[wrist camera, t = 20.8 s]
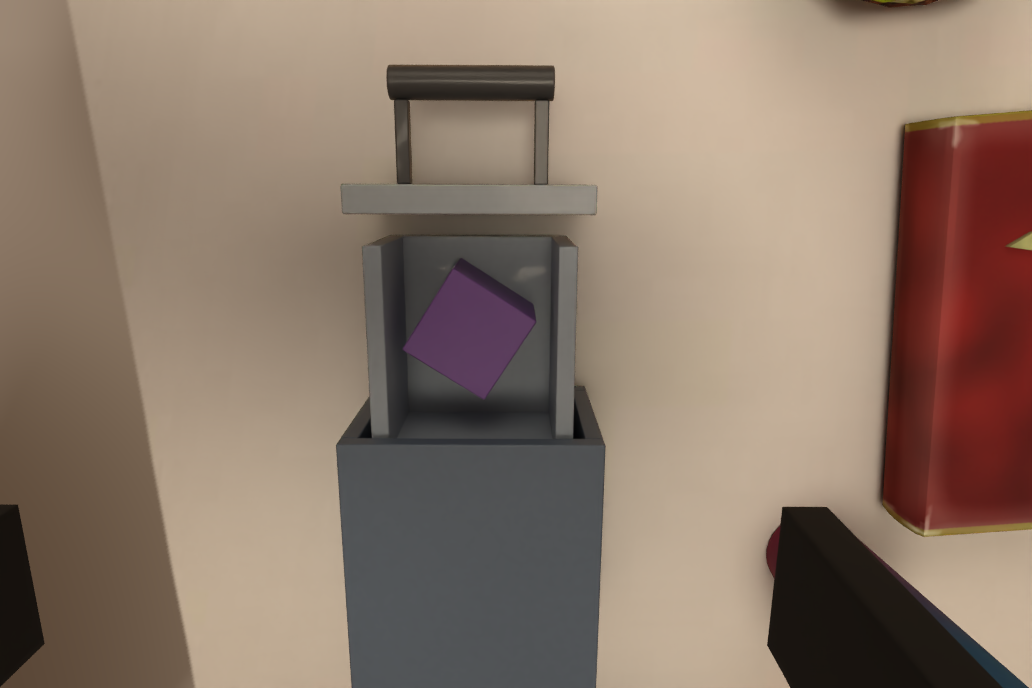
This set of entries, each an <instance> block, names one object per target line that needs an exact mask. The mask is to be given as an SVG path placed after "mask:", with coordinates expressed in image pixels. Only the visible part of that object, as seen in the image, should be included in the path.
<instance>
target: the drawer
mask: <svg viewBox="0 0 1032 688" xmlns="http://www.w3.org/2000/svg"><path fill="white" fill-rule="evenodd" d="M387 89H388V95H389V98H390V99H391V100H394V114H395V141H396V167H397V183H398V184H341V202H342V213H343V214H459V215H596V213H597V185H547V184H548V145H549V101H553V100H554V90H555V68H554V66H533V65H388V68H387ZM408 100H458V101H535V124H534V185H504V184H412V156H411V125H410V102H409V101H408ZM362 256H363V275H364V295H365V315H366V334H367V354H368V374H369V393H370V413H371V433H372V438H419V439H573V422H574V384H575V347H576V309H577V272H578V247H577V246H576V245H575V244H574V243H573V242H572V241H571V240H570V239H569V238H568V237H567V236H518V235H389V236H387V237H385V238H382V239H379V240H377V241H374V242H372V243H369V244H367V245H364V246H362ZM460 258H462V259H464V260H466V261H467V262H469V263H470V264H472V265H473V266H475V267H477V268H478V269H480V270H481V271H483V272H484V273H486V274H487V275H489V276H491V277H492V278H494V279H495V280H497V281H498V282H500V283H501V284H503V285H505V286H506V287H508V288H509V289H511V290H512V291H514V292H515V293H517V294H519V295H520V296H522V297H523V298H525V299H526V300H528V301H529V302H531V303H533V305H534V310H535V316H536V324H535V325H534V327H533V328H532V330H531V331H530V333H529V334H528V336H527V337H526V339H525V340H524V342H523V343H522V345H521V346H520V348H519V349H518V351H517V352H516V354H515V355H514V357H513V358H512V360H511V361H510V363H509V364H508V366H507V367H506V369H505V370H504V372H503V373H502V375H501V376H500V378H499V379H498V381H497V382H496V384H495V385H494V387H493V388H492V390H491V391H490V393H489V394H488V396H487V397H486V399H481V398H480V397H478V396H477V395H475V394H473V393H472V392H470V391H468V390H467V389H465V388H463V387H462V386H460V385H459V384H457V383H455V382H454V381H452V380H450V379H449V378H447V377H445V376H444V375H442V374H441V373H439V372H437V371H436V370H434V369H432V368H431V367H429V366H427V365H426V364H424V363H423V362H421V361H419V360H418V359H416V358H414V357H413V356H411V355H410V354H408V353H406V352H405V351H403V350H402V349H403V347H404V345H405V344H406V342H407V340H408V339H409V337H410V336H411V334H412V332H413V331H414V329H415V328H416V326H417V324H418V323H419V321H420V320H421V318H422V316H423V315H424V313H425V312H426V310H427V308H428V307H429V305H430V304H431V302H432V300H433V299H434V297H435V296H436V294H437V292H438V291H439V289H440V288H441V286H442V284H443V283H444V281H445V280H446V278H447V277H448V275H449V273H450V272H451V270H452V269H453V267H454V266H455V265H456V263H457V262H458V261H459V259H460Z"/></svg>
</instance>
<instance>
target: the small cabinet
mask: <svg viewBox="0 0 1032 688" xmlns="http://www.w3.org/2000/svg"><path fill="white" fill-rule="evenodd" d="M336 452H337V467H338V483H339V498H340V514H341V529H342V545H343V560H344V576H345V591H346V607H347V622H348V638H349V653H350V668H351V684H352V688H596V674H597V649H598V623H599V598H600V572H601V547H602V521H603V496H604V470H605V444H604V441H603V438H602V435H601V432H600V429H599V426H598V423H597V420H596V418H595V415H594V412H593V409H592V406H591V403H590V400H589V398H588V395H587V392H586V389H585V387H584V386H574V422H573V439H419V438H372V433H371V413H370V396H369V398H368V399H367V401H366V402H365V404H364V405H363V407H362V408H361V409H360V411H359V412H358V414H357V415H356V417H355V418H354V420H353V421H352V423H351V424H350V425H349V427H348V428H347V430H346V431H345V433H344V434H343V436H342V437H341V439H340V440H339V441H338V443H337V444H336Z"/></svg>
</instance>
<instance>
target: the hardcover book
mask: <svg viewBox="0 0 1032 688" xmlns="http://www.w3.org/2000/svg"><path fill="white" fill-rule="evenodd" d="M883 506H884V508H885V509H886V510H887V512H888V513H889V514H890V515H891V516H892V517H893V518H894V519H895V520H897V521H898V522H899V523H901V524H902V525H903V526H905V527H906V528H908V529H909V530H911V531H912V532H914V533H916V534H918V535H921V536H923V537H928V536H943V535H957V534H971V533H985V532H1000V531H1014V530H1028V529H1032V110H1031V111H1019V112H1006V113H994V114H982V115H969V116H957V117H948V118H941V119H934V120H927V121H921V122H915V123H909V124H905V137H904V154H903V171H902V187H901V204H900V221H899V238H898V254H897V271H896V288H895V305H894V321H893V338H892V355H891V371H890V388H889V405H888V422H887V438H886V455H885V472H884V489H883Z"/></svg>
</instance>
